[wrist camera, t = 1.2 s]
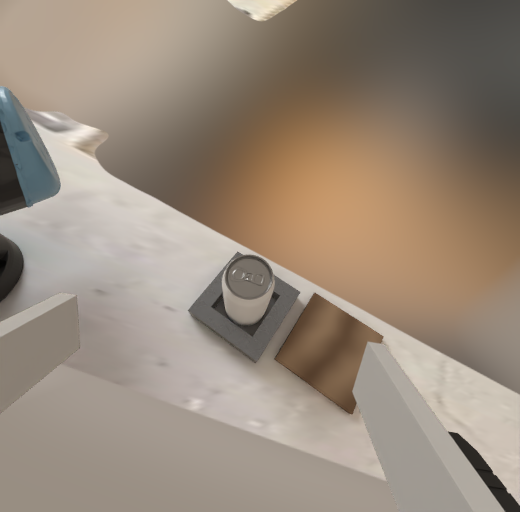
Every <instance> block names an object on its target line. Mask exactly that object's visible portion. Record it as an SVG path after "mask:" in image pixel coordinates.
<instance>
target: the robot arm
mask: <svg viewBox="0 0 520 512" xmlns="http://www.w3.org/2000/svg"><path fill="white" fill-rule="evenodd" d="M60 186H61V183H60V178H59V175H58V173H57V170H56V168H55V165H54V163H53V161H52V159H51V157H50V155H49V153H48V151H47V149H46V147H45V145H44V143H43V141H42V139H41V137H40V135H39V133H38V132H37V130H36V128H35V126H34V124H33V123H32V121H31V119H30V118H29V116H28V114H27V113H26V111H25V109H24V108H23V106H22V105H21V103H20V102H19V100H18V99H17V98H16V97H15V96H14V95H13V93H12V92H11V91H10V90H9V89H8V88H6V87H3V86H0V215H3V214H6V213H10V212H13V211H16V210H19V209H22V208H25V207H28V208H29V207H31V206H33V204H34V203H37V202H40V201H42V200H45V199H48V198H50V197H53V196H54V195H56V194H57V193H58V192H59V190H60ZM22 266H23V258H22V253H21V251H20V249H19V248H18V246H17V245H16V244H15V243H14V242H12V241H11V240H9V239H8V238H6V237H5V236H3V235H1V234H0V301H1V300H3V299H4V298H5V297H6V296H7V294H8V293H9V292H10V291H11V290H12V288H13V287H14V286H15V284H16V282H17V280H18V279H19V276H20V274H21V271H22ZM79 348H80V340H79V322H78V305H77V295H72V294H66V293H58V294H56V295H54V296H52V297H50V298H48V299H46V300H44V301H42V302H40V303H38V304H36V305H34V306H32V307H30V308H28V309H26V310H24V311H22V312H20V313H18V314H15V315H13V316H11V317H9V318H7V319H5V320H3V321H1V322H0V413H2V412H3V411H4V410H5V409H6V408H8V407H9V406H10V405H11V404H12V403H14V402H15V401H16V400H17V399H18V398H20V397H21V396H22V395H23V394H25V393H26V392H27V391H28V390H29V389H31V388H32V387H33V386H34V385H35V384H37V383H38V382H39V381H40V380H42V379H43V378H44V377H45V376H46V375H47V374H49V373H50V372H51V371H52V370H54V369H55V368H56V367H57V366H58V365H60V364H61V363H62V362H63V361H65V360H66V359H67V358H68V357H69V356H71V355H72V354H73V353H74V352H75V351H77V350H78V349H79ZM352 392H353V395H354V397H355V400H356V403H357V405H358V408H359V410H360V413H361V415H362V418H363V420H364V423H365V426H366V428H367V431H368V433H369V436H370V438H371V441H372V443H373V446H374V449H375V451H376V454H377V456H378V459H379V461H380V464H381V466H382V469H383V471H384V474H385V477H386V479H387V482H388V484H389V487H390V489H391V492H392V494H393V497H394V499H395V502H396V505H397V507H398V510H399V512H520V505H519V504H518V503H517V502H516V500H515V499H514V498H513V496H512V495H511V494H509V493H508V492H507V490H506V487H505V486H504V485H503V484H502V482H501V481H500V480H499V479H498V477H497V476H496V475H494V474H493V471H492V470H491V468H490V467H489V466H488V464H487V463H486V462H485V461H484V459H483V458H482V457H481V455H480V454H479V453H478V452H477V450H475V449H474V448H473V447H472V446H471V445H470V444H469V443H468V442H467V441H466V440H464V439H463V438H462V437H461V436H460V435H459V434H458V433H453V432H447V430H446V429H445V427H444V426H443V425H442V423H441V422H440V420H439V419H438V418H437V416H436V415H435V413H434V412H433V411H432V409H431V408H430V407H429V405H428V404H427V402H426V401H425V400H424V398H423V397H422V395H421V394H420V393H419V391H418V390H417V388H416V387H415V386H414V384H413V383H412V382H411V380H410V379H409V377H408V376H407V375H406V373H405V372H404V370H403V369H402V368H401V366H400V365H399V363H398V362H397V361H396V359H395V358H394V357H393V355H392V354H391V352H390V351H389V350H388V348H387V347H386V345H385V344H380V343H373V342H367V345H366V348H365V352H364V355H363V358H362V361H361V365H360V368H359V371H358V374H357V378H356V381H355V384H354V387H353V391H352Z"/></svg>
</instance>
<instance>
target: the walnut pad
mask: <svg viewBox="0 0 520 512" xmlns="http://www.w3.org/2000/svg"><path fill="white" fill-rule="evenodd" d="M383 337H384V336H382V335H380V334H379V333H377V332H376V331H374V330H373V329H371V328H369V327H368V326H366V325H365V324H363V323H362V322H360V321H359V320H357V319H355V318H354V317H352V316H351V315H349V314H348V313H346V312H344V311H343V310H341V309H340V308H338V307H337V306H335V305H333V304H332V303H330V302H329V301H327V300H326V299H324V298H323V297H321V296H319V295H318V294H316V293H314V294H313V296H312V298H311V299H310V301H309V303H308V304H307V306H306V308H305V309H304V311H303V313H302V314H301V316H300V318H299V319H298V321H297V323H296V324H295V326H294V328H293V329H292V331H291V333H290V334H289V336H288V338H287V339H286V341H285V343H284V344H283V346H282V348H281V349H280V351H279V353H278V354H277V356H276V358H275V360H276V361H278V362H279V363H281V364H282V365H283V366H285V367H286V368H287V369H289V370H290V371H292V372H293V373H294V374H296V375H297V376H298V377H300V378H301V379H302V380H304V381H305V382H307V383H308V384H309V385H311V386H312V387H313V388H315V389H316V390H318V391H319V392H320V393H322V394H323V395H324V396H326V397H327V398H329V399H330V400H331V401H333V402H334V403H335V404H337V405H338V406H340V407H341V408H342V409H344V410H345V411H346V412H348V413H349V414H353V411H354V409H355V406H356V404H357V403H356V400H355V397H354V395H353V392H352V391H353V387H354V384H355V381H356V378H357V374H358V371H359V368H360V365H361V361H362V358H363V355H364V352H365V348H366V345H367V342H373V343H380V344H381V342H382V339H383Z"/></svg>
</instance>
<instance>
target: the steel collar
mask: <svg viewBox="0 0 520 512" xmlns="http://www.w3.org/2000/svg"><path fill="white" fill-rule="evenodd" d="M239 256H242V254H241V253H239V252H237V253H236V254H235V255H234V257H233V258H232V259H231V260H230V261H229V262H228V264H227V265H226V266H225V267H224V268H223V270H222V271H221V272H220V273H219V274H218V275H217V277H216V278H215V279H214V280H213V281H212V283H211V284H210V285H209V286H208V287H207V288H206V290H205V291H204V292H203V293H202V294H201V296H200V297H199V298H198V299H197V300H196V301H195V303H194V304H193V305H192V306H191V307H190V309H189V310H188V311H189V313H190V314H191V315H192V316H193V317H194V318H196V319H197V320H198V321H200V322H201V323H202V324H204V325H205V326H206V327H208V328H209V329H210V330H212V331H213V332H214V333H216V334H217V335H218V336H220V337H221V338H222V339H224V340H225V341H226V342H228V343H229V344H230V345H232V346H233V347H235V348H236V349H237V350H239V351H240V352H241V353H243V354H244V355H245V356H247V357H248V358H249V359H251V360H252V361H253V362H255V363H256V362H257V360H258V359H259V357H260V356H261V354H262V352H263V351H264V349H265V348H266V346H267V345H268V343H269V341H270V340H271V338H272V337H273V335H274V333H275V332H276V330H277V329H278V327H279V325H280V324H281V322H282V321H283V319H284V317H285V316H286V314H287V313H288V311H289V310H290V308H291V306H292V305H293V303H294V302H295V300H296V298H297V297H298V295H299V294H300V292H299V291H298V290H296V289H295V288H293V287H292V286H290V285H289V284H287V283H285V282H284V281H282V280H281V279H279V278H278V277H276V276H275V275H274V280H275V286H274V290H273V293H272V297H273V298H275V299H276V300H277V301H276V302H275V304H274V305H273V307H272V308H271V310H270V311H269V313H268V314H267V316H266V317H265V319H264V320H263V322H262V323H261V325H260V326H259V328H258V329H257V331H256V332H255V334H254V335H253V337H252V336H251V335H249V334H248V333H247V332H245V331H244V330H242V329H241V328H240V327H238V326H237V325H235V324H234V323H233V322H231V321H230V320H229V319H227V318H226V317H224V316H223V315H222V314H220V313H219V312H217V311H216V310H215V307H216V306H217V305H218V303H219V302H220V301H221V300H222V298H223V290H222V277H223V274H224V271H225V270H226V268H227V266H228V265H229V263H230V262H231V261H232V260H234V259H235V258H237V257H239Z"/></svg>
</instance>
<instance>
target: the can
mask: <svg viewBox="0 0 520 512" xmlns="http://www.w3.org/2000/svg"><path fill="white" fill-rule="evenodd" d="M274 286H275V280H274V275H273V272H272V269H271V267H270V266H269V264H268V263H267V262H266V261H265V260H264V259H262V258H260V257H258V256H255V255H242V256H239V257H237V258H235V259H234V260H232V261H231V262H230V263H229V265H228V266H227V268H226V270H225V271H224V274H223V277H222V290H223V297H224V304H225V310H226V313H227V315H228V317H229V318H230V319H231V320H232V321H233V322H234V323H236V324H238V325H242V326H249V325H253V324H255V323H257V322H258V321H259V320H260V319H261V318H262V317H263V316H264V314H265V311H266V309H267V307H268V304H269V301H270V299H271V296H272V293H273V290H274Z"/></svg>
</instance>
